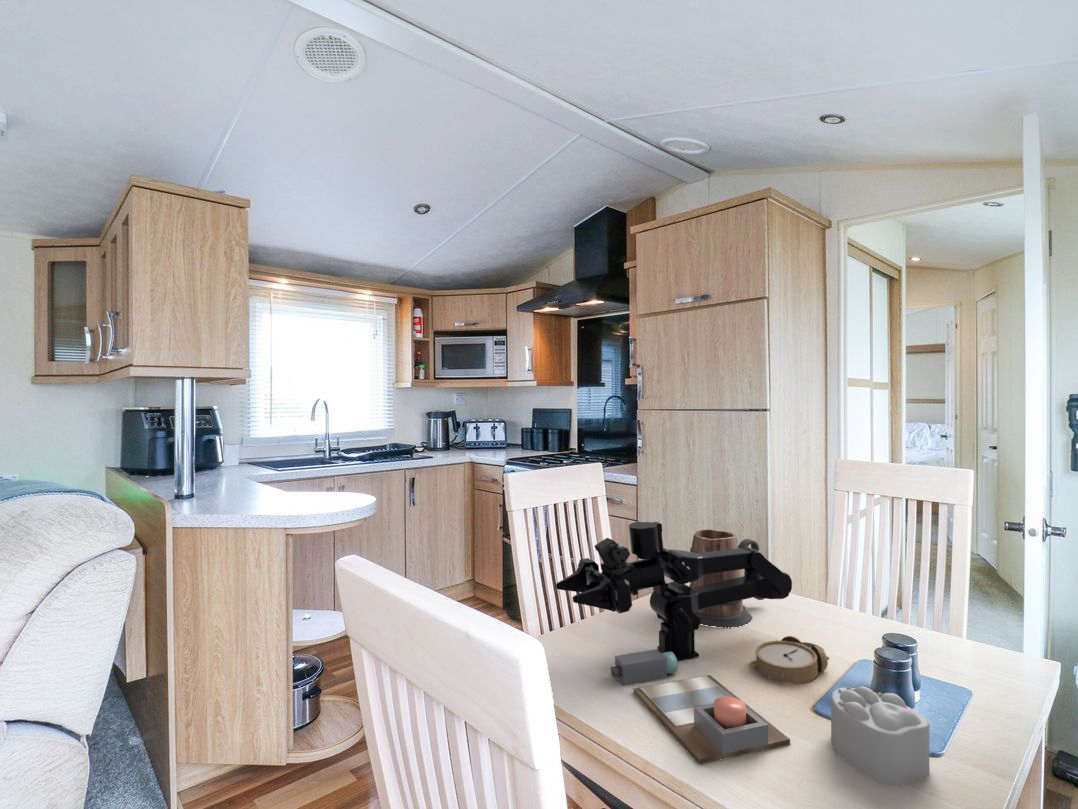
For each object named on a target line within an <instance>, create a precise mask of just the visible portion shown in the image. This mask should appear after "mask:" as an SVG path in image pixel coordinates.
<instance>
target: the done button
mask: <svg viewBox="0 0 1078 809" xmlns="http://www.w3.org/2000/svg"><path fill="white" fill-rule="evenodd" d="M739 699H740V698H739ZM739 699H737V698H733V697H719V698H717V699H715V700H714V720H715V721H716V722H717V723H718V724H719V725H720V726H722V727H723V728H724V729H729V728H734V727H739V726H743V725H746V705H745V703H746V702H745V701H743V700H742V699H741V700H742V701H743V702H742V701H741V700H739Z"/></svg>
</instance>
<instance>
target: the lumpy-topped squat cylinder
mask: <svg viewBox="0 0 1078 809" xmlns="http://www.w3.org/2000/svg"><path fill="white" fill-rule="evenodd" d="M830 711H831V712H830V716H831V717H830V728H831V730H830V733H831V734H830V735H831V737H830V739H831V740H830V741H831V745H832V747H833V749H834V752H835V754H836V755H838V756H839V758H841V759H842V760H843V761H844V762H846V764H848V765H850V767H853V768H854V769H855V770H856V771H858V772H860V773H862V774H863V775H865V776H866V777H868V778H870V779H871V780H874V781H876V782H878V783H881V784H883V785H886V786H892V787H893V786H894V787H899V786H904V785H905V784H907V783H909V782H911V781H914V780H915V781H916V780H922V779H925V778H928V777H930V774H931V773H930V770H931V769H930V723H929V721H928V720H927V719H926V717H924V716H923V715H922V714H921V713H920V712H918V711H917V710H914V709H912V708H911V707H909V706H907V704H906V702H905V701H904V700H903V698H901V697H900V696H899V695H898V694H896V693H893V692H886V693H885V692H884V693H882V692H874V691H873V690H872V689H871V688H868V687H866V686H864V685H863V686H858V687H855V688H854V687H850V686H847V687H840V688H836V689H834V690H833V691H832V693H831V696H830Z"/></svg>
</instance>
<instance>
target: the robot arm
mask: <svg viewBox="0 0 1078 809" xmlns="http://www.w3.org/2000/svg"><path fill="white" fill-rule="evenodd" d="M628 531H629V539H630V540H629V542H630V549H631V550H629V549H628V547H626V546H624V545H623V546H620V545H619V543H617V542H616V541H615V540H614V539H611V538H609V537H606V538H604V539H602V540H601V541H599V542H598V543H597V544H595V545H594V549H595V551H597V553H598V555H599V557H600V559H601V561H602V562H601V563H600V567H599V564H598V563H597V562H595V561H594V560H592V559H590V558H588V557H586V558H582V559H579V562H578V564H577V569H576V570H575V572H573V573H572V574H570V575H568V576H566V577H565V578H564V579H561V580H560V581H558V582H556V583H555V587H556V589H557V590H560V591H567V592H575V593H576V592H577V594H575V595H573V596H572V602H573V603H574V604H579V605H584V606H588V607H594V608H598V609H602V610H607V611H611V613H612V612H613V613H614V612H617V613H618V614H623V613H628V612H629V611H630V610H631V608H632V606H633V600H632V595H633V596H637V595H639V591H642V590H645V589H646V590H647V589H650V588H652V590H653V591H652V593H651V595H650V597H649V605H650V607H651V608H650V609H651V610H653V612H655V614H656V616H657V619H659V620H661V621H662V622H660V630H659V631H658V645H657V646H656V648H657V649H656V650H658V651H659V652H660V653H665V652H673V653H674V655H675V657H676V659H677V661H679V660H685V659H692V658H697V657H699V656H700V654H699V652H697V651H696V648H695V647H696V645H695V642H696V641H695V639H696V638H695V631H697V630H699V627H700V625H699V624H700V621H701V620H700V618H699V617H697V616H696V615H695V614H696V613H697V612H698V611H699V610H701V609H705V608H709V607H714V606H718V605H722V604H727V603H731V602H735V601H740V600H747V599H752V598H753V597H758V598H765V599H767V600H783V599H786V598H788V597H789V596H790V593H791V592H792V589H793V581H792V578H791V576H790V575H789V574H788V573H787V572H785V571H782V570H780V568H779V567H778V566H776V565H775V564H773V563H772V562H770V561H769V559H767V558H766V557H765V556H764V555H763V553H761V552H760V551H757V550H754V549H752V548H751V547H749V546H748V547H741V548H737V549H728V550H720V551H711V552H702V553H693V552H690V551H687V550H681V549H679V550H678V549H667V548H666V547H665V548H664V543H663V542H664V540H663V523H662V522H661V523H660V522H658V521H653V522H652V521H651V522H649V521H635V522H632V523H630V524H629V525H628ZM630 551H631V553H630ZM631 554H633V555H636V558H637V560H634V561H630V562H627V560H628V559H629V557H630V555H631ZM638 559H639V560H638ZM740 569H741V570H744V571H745V572H746V573H747V574H746V575H745V576H744V575H743V576H741V577H739V578H734V579H730V580H725V581H720V582H716V583H711V584H706V585H702V586H697V587H693V588H691V587H689V585H687V584H688V583H689V584H690V582H692V581H695V580H698V579H699V578H700V577H701V576H702V575H705V574H709V573H716V572H724V571H732V570H740ZM600 570H601V572H600ZM665 578H669V579H670V580H672V581H670V582H668V583H667V582H666V580H665ZM753 599H754V598H753Z"/></svg>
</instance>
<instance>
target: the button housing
mask: <svg viewBox="0 0 1078 809" xmlns="http://www.w3.org/2000/svg"><path fill="white" fill-rule="evenodd" d="M694 726H695V727H696V728H697V729H698V730H699V731H700V732H701V733H702V734H703V735H704V736H705V737H706V738H707V739H708V740H709V741H710V742H711V743H712V744H713V745H714V746H715V747H716V748H717V749H718V750H719V751H720V752H721V753H722V754H726V753H730V752H735V751H739V750H744V749H748V748H753V747H757V746H762V745H766V744H768V724H767V723H765V722H764V721H763V720H762V719H760V718H759V717H758V716H757V715H756V714H754V713H753V712H752V711H751V710H749V709H748V708H747V707H746V725H743V726H739V727H734V728H729V729H724V728H723V727H722V726H720V725H719V724H718V723H717V722H716V721H715V720H714V703H713V704H708V705H703V706H697V707H694Z"/></svg>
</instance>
